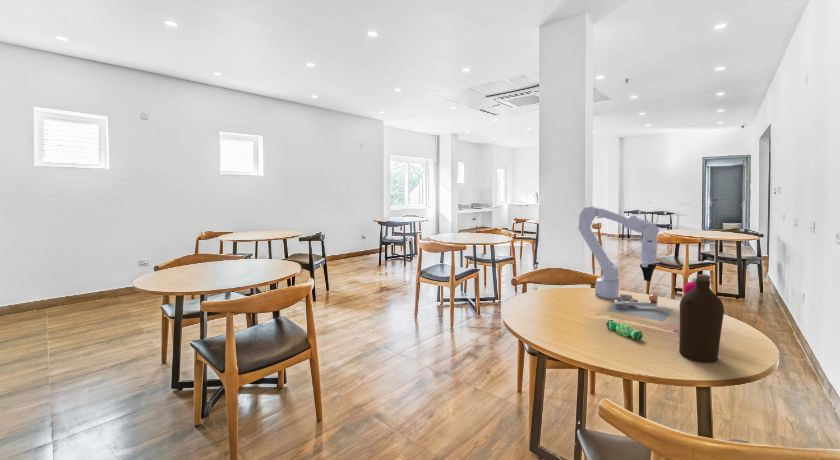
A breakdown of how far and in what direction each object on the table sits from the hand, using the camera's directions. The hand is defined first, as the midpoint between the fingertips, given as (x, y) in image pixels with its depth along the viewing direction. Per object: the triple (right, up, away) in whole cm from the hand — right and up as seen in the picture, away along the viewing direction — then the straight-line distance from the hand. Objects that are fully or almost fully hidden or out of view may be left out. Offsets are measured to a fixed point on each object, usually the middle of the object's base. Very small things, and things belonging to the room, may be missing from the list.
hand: (647, 280), depth 165 cm
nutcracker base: (-10, -12, -12) cm, 19 cm away
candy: (-28, -15, -33) cm, 46 cm away
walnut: (-11, -10, -5) cm, 15 cm away
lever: (-11, -9, -10) cm, 17 cm away
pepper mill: (-5, -14, -34) cm, 37 cm away
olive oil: (-15, -16, -51) cm, 55 cm away
